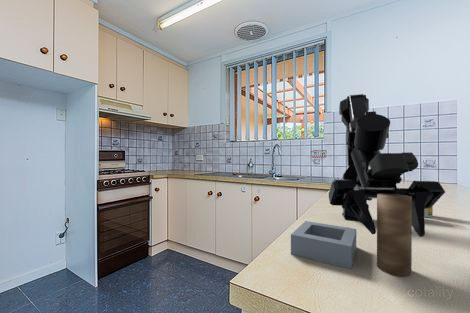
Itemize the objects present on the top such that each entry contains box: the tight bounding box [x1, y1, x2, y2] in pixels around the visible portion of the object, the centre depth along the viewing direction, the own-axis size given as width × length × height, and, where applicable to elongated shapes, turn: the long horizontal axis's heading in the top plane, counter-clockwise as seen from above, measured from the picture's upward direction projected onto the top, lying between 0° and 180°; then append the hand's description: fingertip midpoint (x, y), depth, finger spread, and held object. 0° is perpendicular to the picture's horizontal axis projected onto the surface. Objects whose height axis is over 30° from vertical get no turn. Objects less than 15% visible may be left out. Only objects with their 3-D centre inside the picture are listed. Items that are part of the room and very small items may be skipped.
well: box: [290, 220, 357, 270], centre depth 47 cm, size 11×11×4 cm
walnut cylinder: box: [376, 193, 413, 278], centre depth 39 cm, size 5×5×13 cm
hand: (398, 234), depth 38 cm, fingers open, 7 cm apart
